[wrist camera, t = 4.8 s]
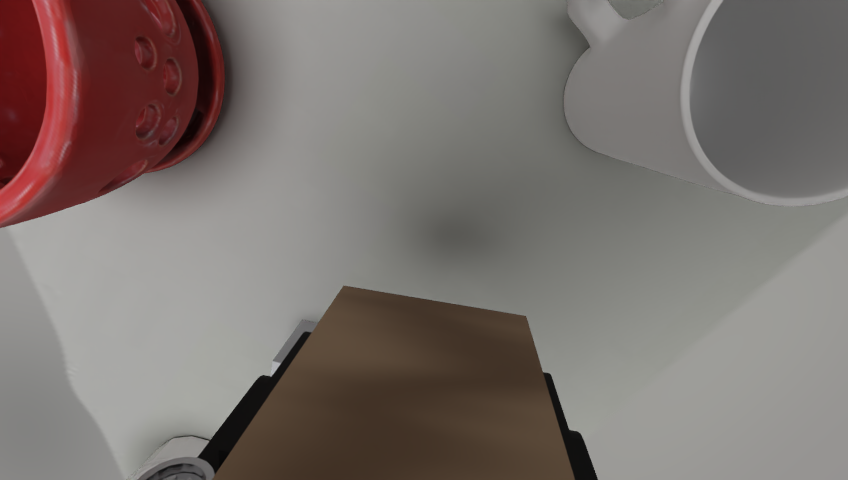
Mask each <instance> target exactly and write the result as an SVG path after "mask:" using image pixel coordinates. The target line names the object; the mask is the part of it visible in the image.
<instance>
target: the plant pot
mask: <svg viewBox="0 0 848 480" xmlns="http://www.w3.org/2000/svg"><path fill="white" fill-rule="evenodd" d="M224 87H225V70H224V60H223V54H222V50H221V46H220V42H219V39H218V36H217V33H216V30H215V28H214V25H213V22H212V20H211V18H210V16H209V14H208V12H207V10H206V9H205V7H204V5H203V3H202V2H201V0H0V228H2V227H6V226H10V225H14V224H17V223H21V222H24V221H28V220H31V219H35V218H38V217H42V216H45V215H48V214H51V213H54V212H57V211H60V210H63V209H66V208H69V207H72V206H75V205H78V204H81V203H85V202H87V201H90V200H92V199H95V198H97V197H100V196H102V195H105V194H107V193H109V192H111V191H113V190H115V189H117V188H119V187H121V186H123V185H125V184H127V183H129V182H131V181H132V180H134V179H136V178H137V177H139V176H141V175H142V174H144V173H149V172H154V171H158V170H162V169H165V168H168V167H171V166H173V165H175V164H177V163H179V162H181V161H182V160H184V159H186V158H187V157H189V156H190V155H191V154H192V153H194V152H195V151H196V150H197V149H198V148H199V147H200V146H201V145H202V144H203V143H204V141H205V140H206V139H207V137H208V136H209V134H210V133H211V131H212V129H213V127H214V125H215V123H216V121H217V118H218V116H219V113H220V110H221V106H222V101H223V96H224Z"/></svg>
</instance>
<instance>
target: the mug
mask: <svg viewBox="0 0 848 480" xmlns="http://www.w3.org/2000/svg"><path fill="white" fill-rule="evenodd" d="M567 12H568V15H569V17H570V19H571V20H572V21H573V23H574V24H575V25H576V26H577V27H578V28H579V30H580V31H581V32H582V34H583V35H584V36H585V38H586V39H587V41H588V43H589V45H590V47H589V48H588V49H587V50H586V51H585V52H584V53H583V54H582V55H581V57H580V58H579V59H578V60H577V62H576V63H575V65H574V67H573V68H572V70H571V72H570V74H569V77H568V80H567V83H566V86H565V91H564V112H565V117H566V120H567V123H568V125H569V127H570V129H571V131H572V133H573V134H574V136H575V137H576V138H577V139H578V140H579V141H580V142H581V143H582V144H583V145H585V146H586V147H588V148H589V149H591V150H593V151H595V152H598V153H601V154H604V155H607V156H609V157H612V158H615V159H618V160H622V161H625V162H628V163H631V164H635V165H638V166H641V167H644V168H647V169H651V170H654V171H657V172H660V173H663V174H666V175H669V176H673V177H676V178H679V179H682V180H685V181H688V182H691V183H695V184H698V185H701V186H704V187H708V188H711V189H715V190H719V191H723V192H727V193H731V194H735V195H738V196H741V197H743V198H746V199H749V200H752V201H755V202H759V203H763V204H769V205H776V206H807V205H815V204H821V203H826V202H830V201H834V200H838V199H841V198H844V197H847V196H848V0H664V2H663V3H661V4H660V5H658V6H656V7H654V8H653V9H651V10H649V11H648V12H646V13H644V14H642V15H640V16H638V17H636V18H633V19H630V20H628V19H624V18H622V17H621V16H620V15H619V14H618V13H617V12H616V11H615V10H614V8H613V7H612V6H611V4H610V3H609V1H608V0H568V7H567Z"/></svg>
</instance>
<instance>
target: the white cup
mask: <svg viewBox="0 0 848 480" xmlns="http://www.w3.org/2000/svg"><path fill="white" fill-rule="evenodd" d="M208 443H209V441H208V440H204V439H201V438H197V437H193V436H189V437H179V438H173V439H171V440H170V441H168V442H167V443H165V444H163V445H162V446H160V447H159V448H158V449H157V450H156V451H155V452H154V453H153V454H152V455H151V456H150V458H149V459H148V460H147V461H146V462H145V463H144V464H143V465H142V466H141V467H140V468H139V469H138V470H137V471H135V472H134V473H133V474H132V475H131V476H130V477H129V478H128V479H127V480H137V479H138V478H140V477H141V476H142V475H143V474H144V473H145V472H146V471H148V470H150V469H151V468H153V467H155V466H156V465H158V464H160V463H163V462H165V461H168V460H171V459H174V458H181V457H198V456H199V454H200V453H201V452H202V450H203V449H204V448H205V447H206V445H207V444H208Z"/></svg>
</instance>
